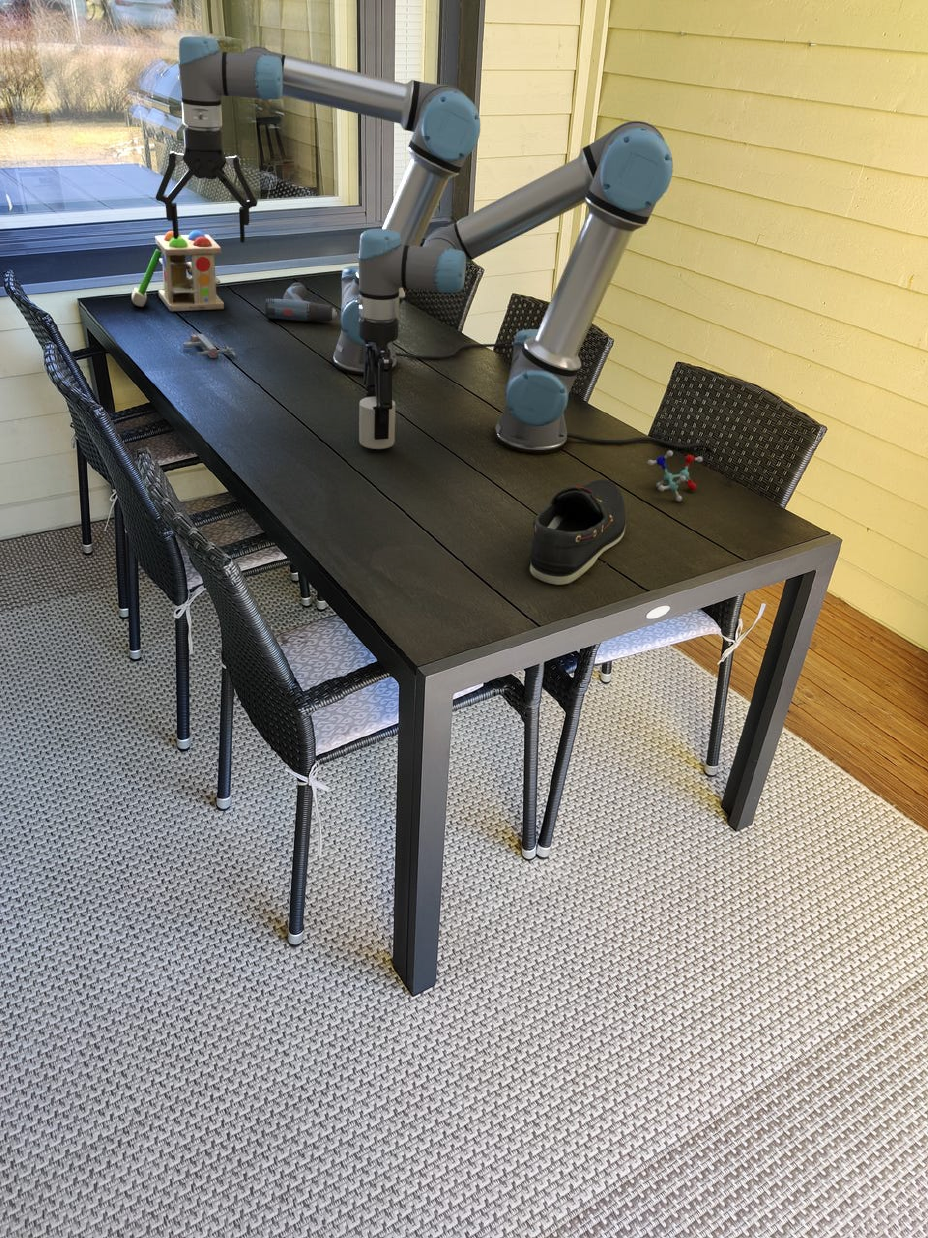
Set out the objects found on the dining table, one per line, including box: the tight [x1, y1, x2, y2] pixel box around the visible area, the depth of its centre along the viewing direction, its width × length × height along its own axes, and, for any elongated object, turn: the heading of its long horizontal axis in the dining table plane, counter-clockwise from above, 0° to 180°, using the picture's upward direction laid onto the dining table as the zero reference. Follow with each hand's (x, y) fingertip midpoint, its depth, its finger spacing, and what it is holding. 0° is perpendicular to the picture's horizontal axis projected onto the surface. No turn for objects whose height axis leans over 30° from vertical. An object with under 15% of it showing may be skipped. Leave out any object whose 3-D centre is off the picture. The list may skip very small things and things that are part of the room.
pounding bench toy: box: [131, 230, 225, 312], centre depth 259 cm, size 23×14×18 cm, turn 116°
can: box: [358, 396, 396, 450], centre depth 197 cm, size 7×7×8 cm
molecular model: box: [646, 450, 704, 503], centre depth 192 cm, size 12×10×10 cm
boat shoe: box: [529, 479, 627, 586], centre depth 172 cm, size 13×33×10 cm, turn 147°
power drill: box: [264, 282, 338, 322], centre depth 265 cm, size 5×19×20 cm
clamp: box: [182, 333, 239, 359], centre depth 235 cm, size 15×2×10 cm
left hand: (209, 239), depth 206 cm, fingers open, 13 cm apart
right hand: (377, 430), depth 198 cm, fingers closed on can, 7 cm apart
